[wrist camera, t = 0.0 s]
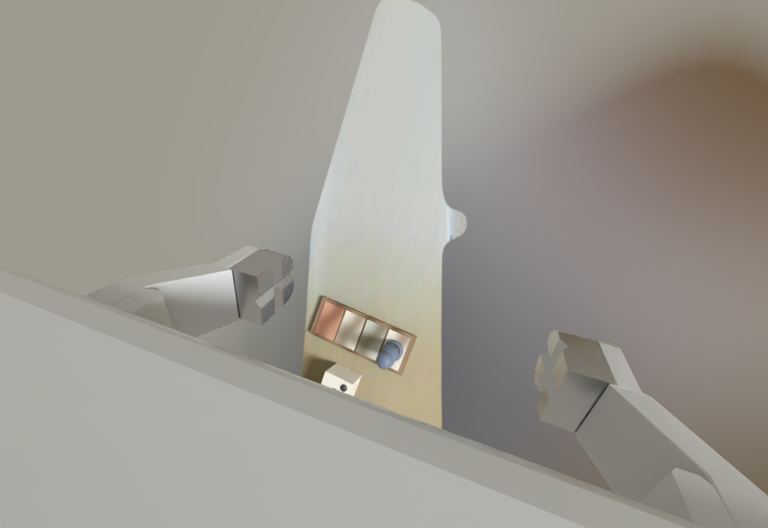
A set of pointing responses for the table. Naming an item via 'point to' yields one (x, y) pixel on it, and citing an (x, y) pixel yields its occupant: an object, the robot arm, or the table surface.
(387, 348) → the pawn
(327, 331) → the board
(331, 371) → the die
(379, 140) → the table surface
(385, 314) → the table surface
